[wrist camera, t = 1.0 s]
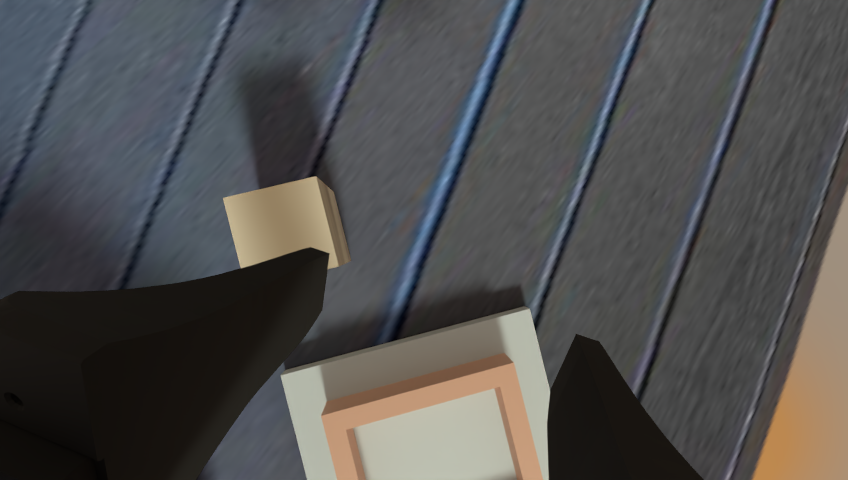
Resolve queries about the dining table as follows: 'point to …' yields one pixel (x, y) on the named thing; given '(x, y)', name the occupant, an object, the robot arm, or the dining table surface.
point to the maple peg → (287, 222)
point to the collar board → (428, 406)
